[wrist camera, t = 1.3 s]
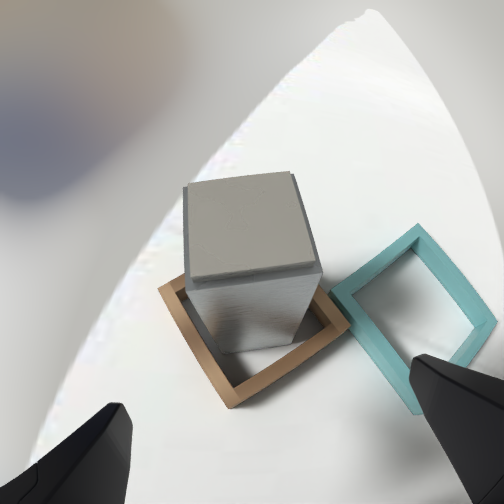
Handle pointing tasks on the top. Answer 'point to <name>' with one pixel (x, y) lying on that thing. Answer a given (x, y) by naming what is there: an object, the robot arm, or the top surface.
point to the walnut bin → (232, 396)
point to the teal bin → (375, 339)
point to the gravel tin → (249, 259)
